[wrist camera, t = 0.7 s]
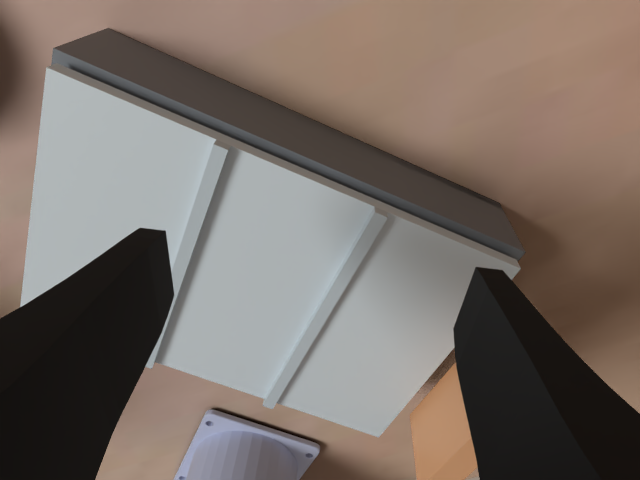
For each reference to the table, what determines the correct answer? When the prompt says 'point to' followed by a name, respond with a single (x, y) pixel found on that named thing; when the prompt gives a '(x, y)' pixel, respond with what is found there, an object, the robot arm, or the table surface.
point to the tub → (287, 136)
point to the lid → (261, 266)
